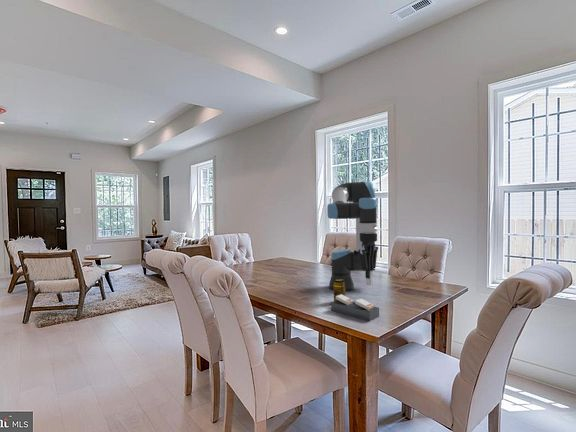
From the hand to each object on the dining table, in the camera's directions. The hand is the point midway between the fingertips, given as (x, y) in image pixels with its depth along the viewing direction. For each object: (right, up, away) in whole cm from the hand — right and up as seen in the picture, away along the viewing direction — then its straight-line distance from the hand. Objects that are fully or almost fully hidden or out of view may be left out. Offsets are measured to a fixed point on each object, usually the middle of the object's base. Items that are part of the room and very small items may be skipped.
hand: (369, 285), depth 136 cm
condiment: (-9, -15, +24) cm, 29 cm away
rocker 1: (-9, -9, +10) cm, 16 cm away
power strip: (-7, -15, +7) cm, 18 cm away
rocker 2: (-2, -9, +2) cm, 9 cm away
